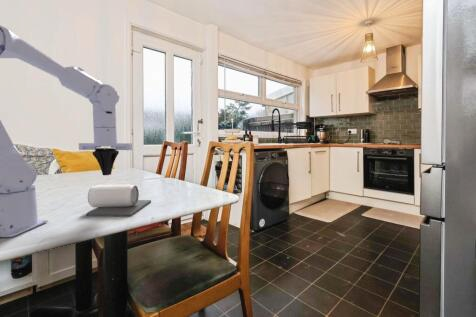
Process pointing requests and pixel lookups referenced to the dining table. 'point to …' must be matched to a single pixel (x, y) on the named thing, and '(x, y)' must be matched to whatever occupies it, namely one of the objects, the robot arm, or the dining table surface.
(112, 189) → the can
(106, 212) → the mat
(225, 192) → the dining table surface
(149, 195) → the dining table surface
